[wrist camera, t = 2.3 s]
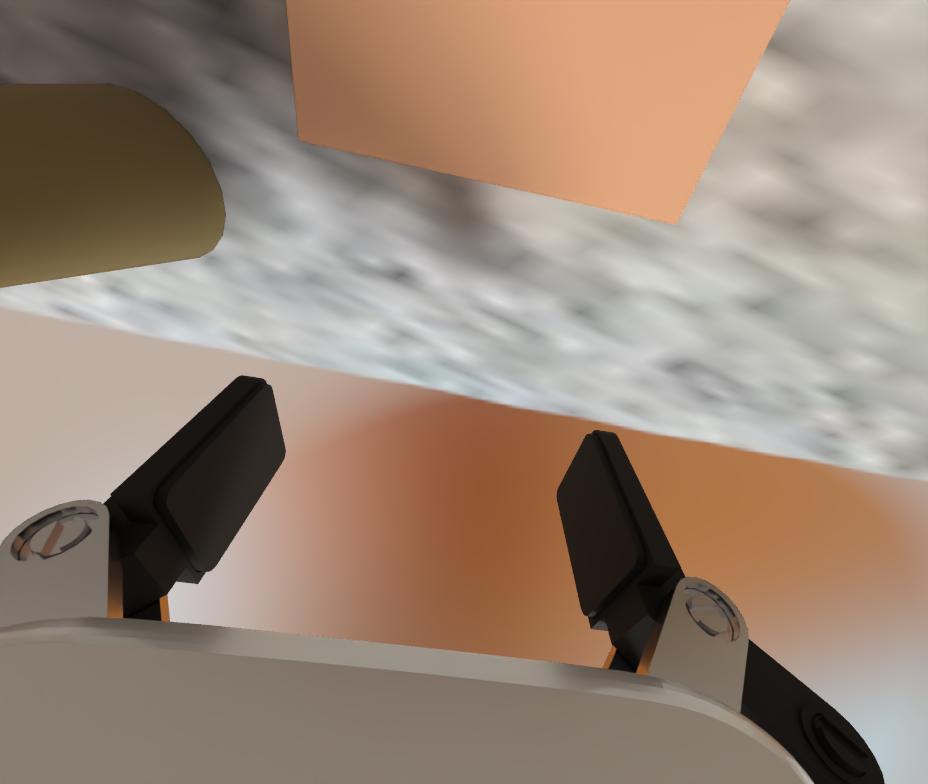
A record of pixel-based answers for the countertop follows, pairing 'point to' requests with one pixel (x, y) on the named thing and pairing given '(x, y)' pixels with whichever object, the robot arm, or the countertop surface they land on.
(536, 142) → the tile
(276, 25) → the countertop surface
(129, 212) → the cork
